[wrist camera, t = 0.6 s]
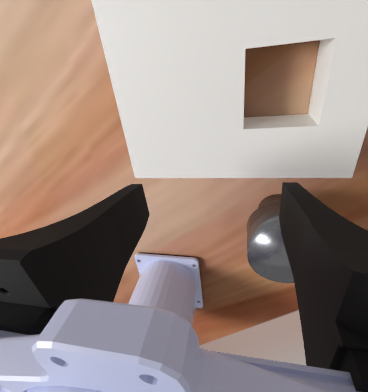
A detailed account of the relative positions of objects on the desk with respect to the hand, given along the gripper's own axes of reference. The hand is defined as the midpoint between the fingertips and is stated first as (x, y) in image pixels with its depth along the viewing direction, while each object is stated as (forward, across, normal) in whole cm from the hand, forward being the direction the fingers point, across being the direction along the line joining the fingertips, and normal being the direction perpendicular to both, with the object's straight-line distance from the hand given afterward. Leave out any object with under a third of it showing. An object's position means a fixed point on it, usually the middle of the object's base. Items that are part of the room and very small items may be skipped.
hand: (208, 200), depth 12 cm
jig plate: (+9, -1, -4) cm, 10 cm away
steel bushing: (+9, -5, +7) cm, 12 cm away
